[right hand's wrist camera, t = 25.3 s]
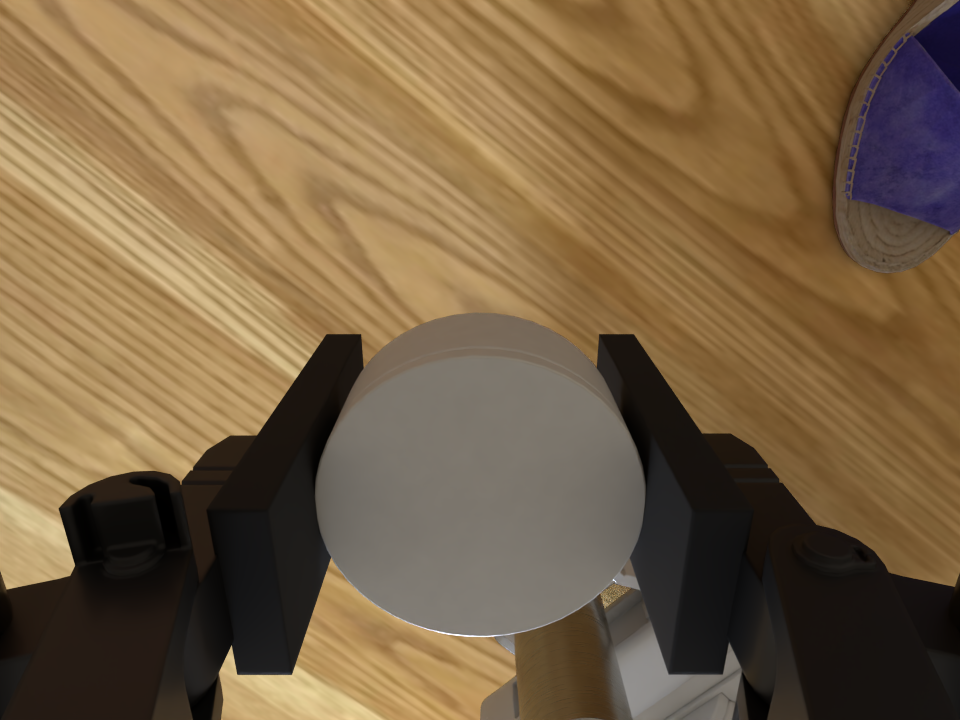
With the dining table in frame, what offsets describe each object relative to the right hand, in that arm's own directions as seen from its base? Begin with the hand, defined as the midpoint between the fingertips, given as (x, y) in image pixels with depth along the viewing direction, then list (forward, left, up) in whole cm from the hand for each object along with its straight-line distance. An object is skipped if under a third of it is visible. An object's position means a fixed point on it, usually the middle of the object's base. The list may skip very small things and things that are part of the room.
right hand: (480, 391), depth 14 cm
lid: (0, 0, +4) cm, 4 cm away
